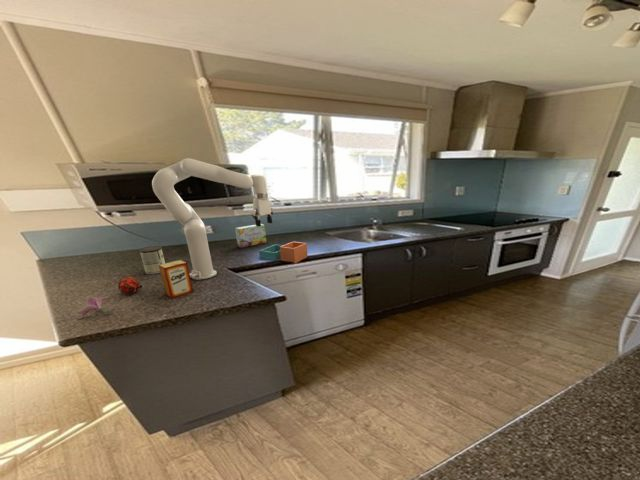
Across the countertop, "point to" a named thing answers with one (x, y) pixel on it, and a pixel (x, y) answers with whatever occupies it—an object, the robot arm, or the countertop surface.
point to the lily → (93, 304)
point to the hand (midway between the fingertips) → (264, 224)
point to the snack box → (250, 235)
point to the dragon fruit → (129, 285)
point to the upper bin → (294, 252)
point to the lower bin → (271, 252)
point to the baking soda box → (176, 278)
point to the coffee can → (152, 259)
